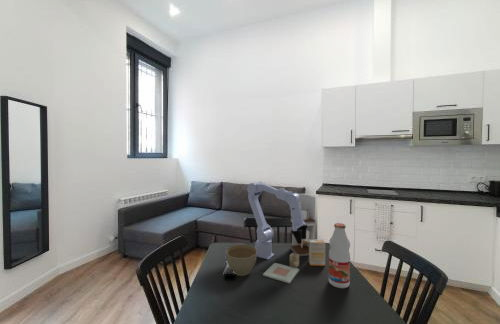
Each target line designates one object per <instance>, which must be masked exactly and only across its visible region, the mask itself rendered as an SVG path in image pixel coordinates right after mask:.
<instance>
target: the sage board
mask: <svg viewBox="0 0 500 324" xmlns="http://www.w3.org/2000/svg"><path fill="white" fill-rule="evenodd" d="M299 272H300V269H299V268H298V267H297V268H294V267H290V265H289V266H288V265H285V264H282V263H276V262H274V263H272V264H271V266H269V268H267V269H266V270H265V272H263V273H262V276H263V277H266V278H270V279H272V280H277V281H281V282H283V283H287V284H291V282H292V281H293V280H294V278H295V277H296V276H297V274H298V273H299Z"/></svg>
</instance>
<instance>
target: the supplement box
mask: <svg viewBox="0 0 500 324" xmlns="http://www.w3.org/2000/svg"><path fill="white" fill-rule="evenodd" d="M308 262H309V266H315V267H317V266H319V267H325V266H326V241H325V240H324V239H320V238H319V239H309V255H308Z"/></svg>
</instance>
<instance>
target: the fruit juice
mask: <svg viewBox="0 0 500 324" xmlns="http://www.w3.org/2000/svg"><path fill="white" fill-rule="evenodd" d="M333 226H334V230H333V233H332V235H331V237H330V238H329V251H328V282H329V285H331V286H333V287H335V288H337V289H346V288H348V287H350V284H351V283H350V282H351V280H350V279H351V252H350V248H351V241H350V240H349V238H348V235H347V233H346V228H347V227H346V224H345V223H341V222H336V223H334V225H333Z"/></svg>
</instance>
